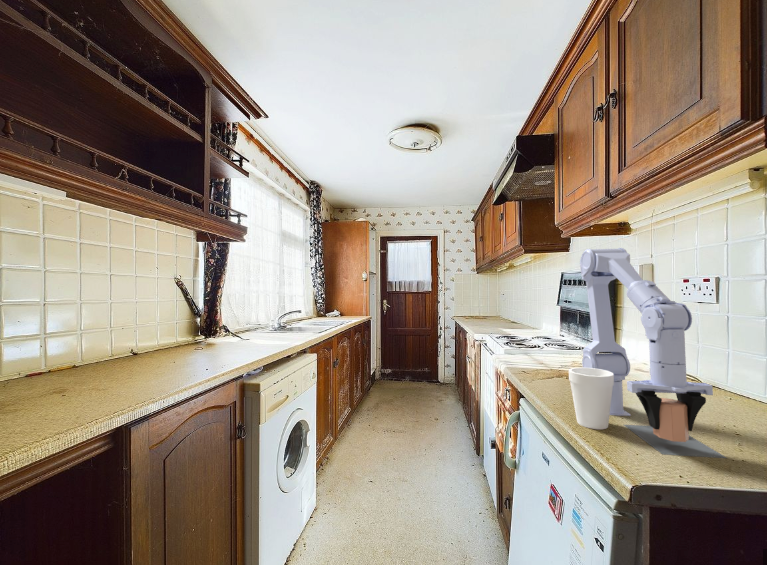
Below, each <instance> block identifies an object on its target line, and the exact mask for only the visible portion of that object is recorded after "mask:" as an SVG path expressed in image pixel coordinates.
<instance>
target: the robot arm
mask: <svg viewBox="0 0 767 565" xmlns="http://www.w3.org/2000/svg"><path fill="white" fill-rule="evenodd" d="M579 264H580V266H579V267H580V275H581V280H582V281H585V285H586V293H587V301H588V309H589V319H590V328H591V336H592V341H591V342H590V343H589V344H587V345H586V346H584V348H583V349H582V352H583V353H582V361H581V364H582V368H595V369H602V370H606V371H609V372H612V373H613V375H614V385H613V388H612V397H611V406H610V414H609V416H627V417H628V416H629V417H631V416H632V415H631V413H629V412H628V411H626V410H624V391H623V381H625V380H626V377H628V375H629V373H630V371H631V363H630V360H629V358H628V356H627V352H626V349H625V348H624V347H623V346H621V345H620V344H618V343H617V342H616V340H615V338H616V337H615V331H614V324H613V316H612V306H611V301H610V300H611V299H610V290H609V284H610V282H612V281H614V280H616V279H617V280H618V281H619V282H620V283H621V284H622V285H623V286H624V287H625V288H627V290H626V297H627V298H628V299H629V300H630V302H632V304H633V305H634V306H635V307H636V308H637V310H638V312H640V313H641V316H640V321H641V324H642V326H643V328H644V330H645V336H646V339H648V342H649V343H648V345H649V346H648V348H649V369H650V370H649V371H650V379H644V380H627V381H626V387H627V388H626V389H627V391H628V392H630V393H632V394H635V395H636V397H637V398H638V400H639V402H640V403H641V405H642V407H643V409H644V411H645V414H646V417H647V420H648V423H649V426H651V427H653V428H654V429H659V428H660V418H659V412H660V405H661V401H662V399H661V398H662V397H659V396H657V395H658V394H656V393H660V394H661V393H663V394H675V396H676V398H677V399H676V400H678V401H681V402H684V403H685V404H686V405H687V413H688V432H692V430H693V426H694V424H695V420H696V419H697V415H698V413H699V412H700V410H701V409H702V408H703V406H704V405H705V404H706V403H707V397H705V396H702V395H706V396H713V395H714V391H713V390H714V389H713V385H711V384H708V383H707V382H693V381H692V382H691V381H687V380H688V379H687V361H686V360H687V359H686V358H687V357H686V341H685V340H686V338H685V332H686V331H688V330H689V329H690V328H691V325H692V323H693V316H692V312H691V311H690V309H689V308H688V307H687V305H686V304H685V303H682V302H676V301H674V300H671V299H670V298H669V297H668V296H667V295H666V294H664V292H663V291H662V290H661V289H660V288H659V287H658V286H657V284H656V283H655V281H653V280H647V279H643V278H642V277H641V275H640V274H639V273H638V272H637V271H636V269H635V268H634V267H633V265H632V263H631V254H630V253H628V251H627V250H626V249H625V248H624V247H618V248H594V249H592V248H586V249H585V250H584V251H583V252H582V254H581V256H580V259H579Z"/></svg>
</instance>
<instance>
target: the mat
mask: <svg viewBox="0 0 767 565" xmlns="http://www.w3.org/2000/svg"><path fill="white" fill-rule="evenodd" d="M623 426H624V427H625V428H627V429H628V430H629V431H630V432H632V433H633V434H635V435H636V436H638V437H639V438H640V439H641V440H642V441H644V442H645V443H647V444H648V445H649V446H651V447H652V448H654V449H655V450H656V451H658V452H659V453H660V454H661V455H666V456H681V457H682V456H683V457H701V458H714V459H715V458H716V459H718V458H719V459H728V457H726V456H725V455H723V454H721V453H719V452H718V451H716V450H714V449H713V448H711V447H710V446H708V445H706V444H705V443H703V442H702V441H699V440H698V439H696V438H694V437H692V436H691V435H689V440H687V441H686V442H678V441H670V440H667V439H663V438H660V437H658V436H657V435H655V434H654V433H653V427H651V426H650V425H640V424H639V425H637V424H623Z"/></svg>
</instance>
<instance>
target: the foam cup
mask: <svg viewBox="0 0 767 565" xmlns="http://www.w3.org/2000/svg"><path fill="white" fill-rule="evenodd" d="M568 381H569V383H570V389H571V394H572V399H573V401H572V402H573V407H574V411H575V417H576V422H577V424H578V425H579V426H581V427H584V428H588V429H592V430H605V429H607V428H609V424H610V423H609V422H610V415H609V414H610V406H611V397H612V388H613V385H614V375H613V373H612V372H609V371H606V370H602V369H595V368H583V367H572V368H569V369H568Z"/></svg>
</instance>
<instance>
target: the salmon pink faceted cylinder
mask: <svg viewBox="0 0 767 565" xmlns="http://www.w3.org/2000/svg"><path fill="white" fill-rule="evenodd" d="M660 398H661V399H662V401H661V405H660V412H659V418H660V428H659V429H654V428H653V433H654V434H655V435H657V436H658V437H660V438H663V439H667V440H670V441H678V442H686V441H687V440H689V436H690V435H689V432H690V431H688V413H687V405H686V404H685V403H684V402H681V401H678V400H677V399H673V398H667V397H666V398H665V397H660Z"/></svg>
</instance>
